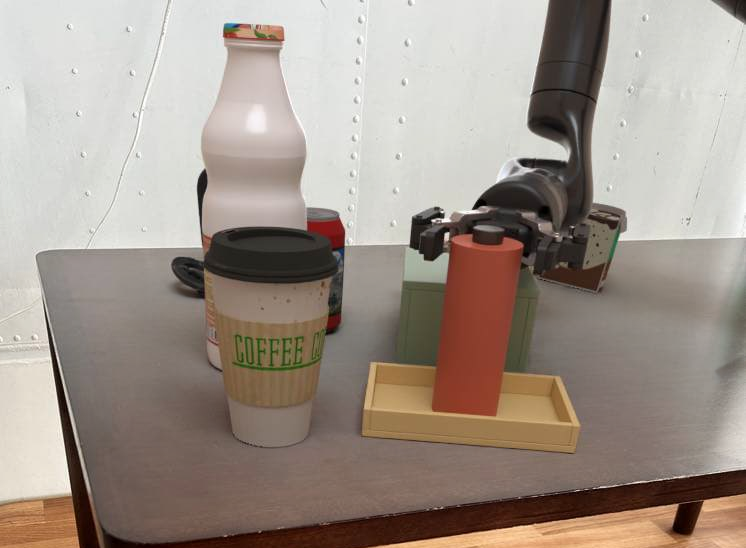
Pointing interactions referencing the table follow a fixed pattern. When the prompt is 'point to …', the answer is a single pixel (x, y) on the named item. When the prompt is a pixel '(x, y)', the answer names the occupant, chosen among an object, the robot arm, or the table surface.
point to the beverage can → (333, 229)
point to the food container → (593, 250)
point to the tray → (508, 429)
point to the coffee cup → (270, 326)
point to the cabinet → (426, 308)
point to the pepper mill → (476, 321)
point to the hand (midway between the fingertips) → (483, 254)
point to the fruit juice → (251, 148)
